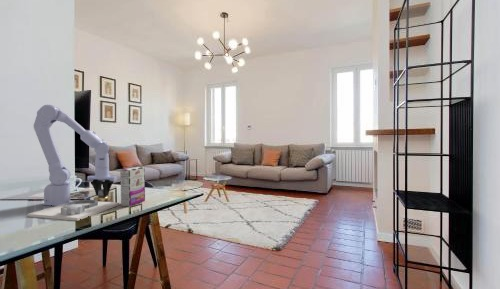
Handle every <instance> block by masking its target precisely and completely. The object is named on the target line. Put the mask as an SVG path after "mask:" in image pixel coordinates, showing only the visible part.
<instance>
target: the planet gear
mask: <svg viewBox="0 0 500 289" xmlns="http://www.w3.org/2000/svg"><path fill="white" fill-rule="evenodd" d="M111 198H112V197H111V195H109V194H108V196H104V193H103V188H101V189H99V190H98V196H96V195H95V197H93V200H97V201H99V202H110V200H111Z"/></svg>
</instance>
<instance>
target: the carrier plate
mask: <svg viewBox="0 0 500 289" xmlns="http://www.w3.org/2000/svg"><path fill="white" fill-rule="evenodd" d="M71 201H72V202H69V203H65V204H62V205H58V206H51V207H48V208H44V209H41V210H36V211H33V212H30V213H27V217H28V218H29V217H30V218H40V219H53V220H67V221H75V222H77V221H81V220H83V219H86V218H89V217H91V216H94V215H97V214H99V213H102V212H104V211H107V210H109V209H112V208H115V207H118V206H120V202H113V201H104V202H99V201H97V200H94V199H77V200H71ZM88 216H89V217H88ZM80 219H81V220H80Z"/></svg>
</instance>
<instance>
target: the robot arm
mask: <svg viewBox="0 0 500 289" xmlns="http://www.w3.org/2000/svg"><path fill="white" fill-rule="evenodd" d="M56 122H60V123H64V124H66V125H67V126H68V127H69V128H71V129H72V130H73V131H75V132H76V133H77V134H79V135H80V140H81V141H82V142H83V143H85V144H86V145H87V146H89V148H91V149H94V152H95V158H94V160H95V163H94V164H95V165H94V168H95V169H94V171H95V172H94V175H88V176H87V181H90V184H91V186H92V188H93V190H94V192H95V197H96V196H98V190H99V189H103V193H104V196H108V195H109V194H110V190H111V187H112V186H113V183H114V182H117V181H118V176H113V175H110V158H109V155H110V154H109V151H110V146H109V144H108V143H107V142H105V140H104V139H102V138H100V137H99V136H98V135H97V134H96V131H92V130H91V129H90V130H89V129H85V128H84V127H83V126H82V125H81V124H80V123H78V122H77V121H76V120H75V119H74V118H72V117H71V115H69V114H68V113H66V112H64V111H63V110H61V109H60V108H59V107H56V106H55V105H51V104H44V105H42V106H41V107H40V108H39V109H38V110H37V111H36V117H35V119H34V123H33V129H34V132H35V135H36V138H37V140H38V143H39V144H40V147H41V149H42V153H43V155H44V157H45V159H46V162H47V164H48V165H47V166H48V172H49V176H48V177H49V178H48V180H49V182H50V183H49V184H47V185H46V186H45V188H44V190H43V203H42V204H41V205H42V206H51V205H52V206H51V207H54V206H58V205H62V204H65V203H69V202H72V201H73V200H71V182H70V181H69V179H70V178H71V172H70V170H69V169H68V168H66V166H65V164H64V162H63V161H62V158H61V156H60V154H59V150H58V149H57V148H58V147H57V145H56V143H55V141H54V138H53V135H52V132H51V131H50V128H51V127H52V125H53V124H54V123H56Z"/></svg>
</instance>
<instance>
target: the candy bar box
mask: <svg viewBox="0 0 500 289" xmlns="http://www.w3.org/2000/svg"><path fill="white" fill-rule="evenodd" d="M119 172H120V174H119V175H120V206H121V207H132V206H135V205H137V204H139V203H142V202H144V201H146V184H145V183H146V182H145V181H146V180H145V176H146V175H145V172H146V171H145V166H133V167H126V168H123V169H120V170H119Z"/></svg>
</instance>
